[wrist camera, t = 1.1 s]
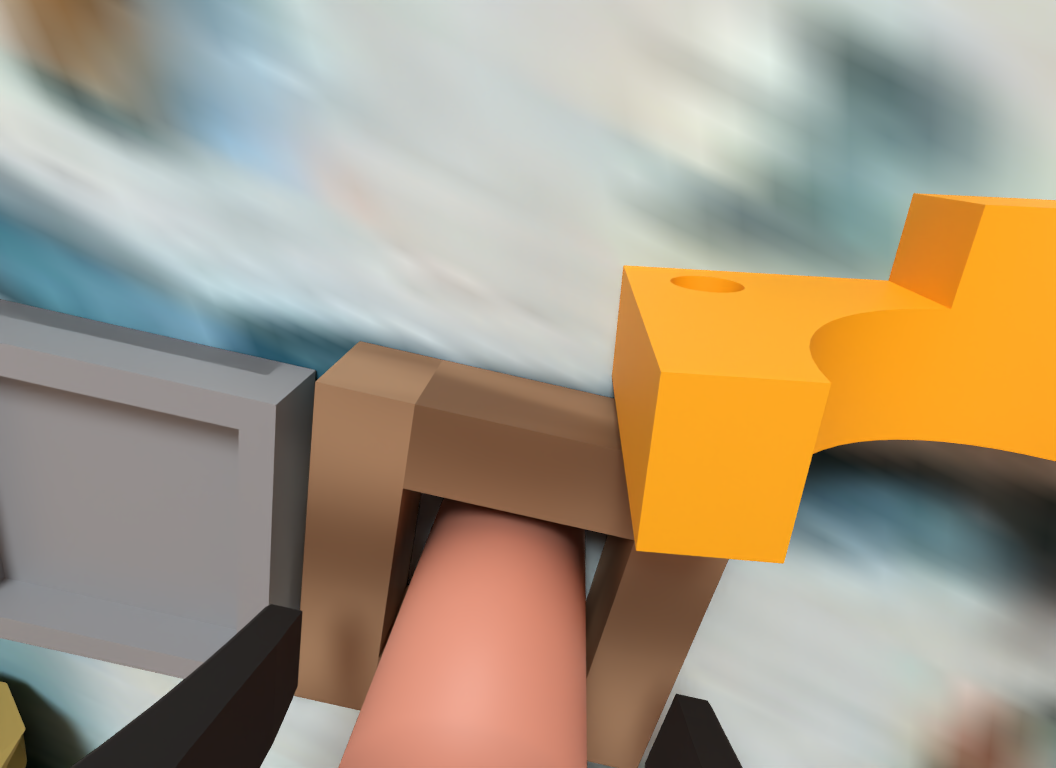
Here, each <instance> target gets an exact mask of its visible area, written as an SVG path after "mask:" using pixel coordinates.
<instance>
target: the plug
mask: <svg viewBox="0 0 1056 768" xmlns="http://www.w3.org/2000/svg"><path fill="white" fill-rule="evenodd" d="M338 768H587V710H586V590H585V529H582V528H577V527H573V526H568V525H564V524H559V523H555V522H551V521H546V520H542V519H537V518H533V517H528V516H524V515H519V514H515V513H511V512H506V511H502V510H497V509H493V508H488V507H484V506H479V505H475V504H470V503H466V502H462V501H457V500H453V499H448V498H444V500H443V501H442V503H441V505H440V508H439V510H438V513H437V515H436V518H435V520H434V523H433V525H432V528H431V531H430V533H429V536H428V538H427V541H426V543H425V546H424V549H423V551H422V554H421V556H420V559H419V561H418V564H417V567H416V569H415V572H414V574H413V577H412V579H411V582H410V585H409V587H408V590H407V592H406V595H405V598H404V600H403V603H402V605H401V608H400V610H399V613H398V616H397V618H396V621H395V623H394V626H393V628H392V631H391V634H390V636H389V639H388V641H387V644H386V646H385V649H384V652H383V654H382V657H381V659H380V662H379V664H378V667H377V670H376V672H375V675H374V677H373V680H372V682H371V685H370V688H369V690H368V693H367V695H366V698H365V700H364V703H363V706H362V708H361V711H360V713H359V716H358V718H357V721H356V724H355V726H354V729H353V731H352V734H351V737H350V739H349V742H348V744H347V747H346V749H345V752H344V755H343V757H342V760H341V762H340V765H339V767H338Z"/></svg>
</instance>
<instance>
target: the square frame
mask: <svg viewBox="0 0 1056 768" xmlns="http://www.w3.org/2000/svg"><path fill="white" fill-rule="evenodd" d="M421 493H426V494H430V495H435V496H439V497H444V498H448V499H453V500H457V501H462V502H466V503H470V504H475V505H479V506H484V507H488V508H493V509H497V510H502V511H506V512H511V513H515V514H519V515H524V516H528V517H533V518H537V519H542V520H546V521H551V522H555V523H559V524H564V525H568V526H573V527H577V528H582V529H586V530H591V531H595V532H600V533H604V534H608V535H607V539H606V542H605V545H604V548H603V551H602V554H601V557H600V560H599V563H598V566H597V569H596V572H595V575H594V579H593V582H592V585H591V588H590V591H589V594H588V597H587V600H586V710H587V761H589V762H594V763H598V764H603V765H607V766H612V767H616V768H638V765H639V763H640V761H641V758H642V756H643V754H644V752H645V749H646V747H647V745H648V742H649V740H650V738H651V736H652V733H653V731H654V729H655V726H656V724H657V722H658V720H659V717H660V715H661V713H662V710H663V708H664V706H665V704H666V701H667V699H668V697H669V694H670V692H671V690H672V688H673V685H674V683H675V681H676V678H677V676H678V674H679V672H680V669H681V667H682V665H683V662H684V660H685V658H686V656H687V653H688V651H689V649H690V646H691V644H692V642H693V640H694V637H695V635H696V633H697V630H698V628H699V626H700V624H701V621H702V619H703V617H704V614H705V612H706V610H707V608H708V605H709V603H710V601H711V598H712V596H713V594H714V592H715V589H716V587H717V585H718V582H719V580H720V578H721V576H722V573H723V571H724V569H725V567H726V564H727V562H728V560H729V559H726V558H714V557H702V556H691V555H679V554H667V553H656V552H644V551H636V548H635V541H634V533H633V526H632V519H631V511H630V504H629V497H628V490H627V482H626V475H625V468H624V460H623V453H622V446H621V439H620V431H619V424H618V417H617V410H616V402H615V399H614V398H609V397H605V396H601V395H596V394H592V393H587V392H583V391H578V390H574V389H570V388H565V387H561V386H556V385H552V384H547V383H543V382H539V381H534V380H530V379H525V378H521V377H516V376H512V375H508V374H503V373H499V372H494V371H490V370H485V369H481V368H476V367H472V366H468V365H463V364H459V363H454V362H450V361H445V360H441V359H437V358H432V357H428V356H423V355H419V354H414V353H410V352H406V351H401V350H397V349H392V348H388V347H383V346H379V345H375V344H370V343H366V342H361V341H359V342H358V343H357V344H356V345H355V346H354V347H353V348H352V349H351V350H350V351H348V352H347V353H346V354H345V355H344V356H343V357H342V358H341V359H340V360H339V361H338V362H336V363H335V364H334V365H333V366H332V367H331V368H330V369H329V370H328V371H327V372H326V373H324V374H323V375H322V376H321V377H320V378H319V379H318V380H317V381H316V382H315V394H314V409H313V425H312V440H311V455H310V470H309V485H308V500H307V515H306V530H305V545H304V560H303V575H302V590H301V605H300V610H301V611H303V614H302V629H301V644H300V659H299V674H298V687H297V689H296V691H295V696H297V697H302V698H306V699H311V700H315V701H320V702H324V703H329V704H333V705H338V706H342V707H347V708H351V709H356V710H360V711H361V708H362V706H363V703H364V700H365V698H366V695H367V693H368V690H369V688H370V685H371V682H372V680H373V677H374V675H375V672H376V670H377V667H378V664H379V662H380V659H381V657H382V654H383V652H384V649H385V646H386V644H387V641H388V639H389V636H390V634H391V631H392V628H393V626H394V623H395V621H396V618H397V616H398V613H399V610H400V608H401V605H402V603H403V600H404V598H405V595H406V592H407V590H408V587H409V586H407V580H408V573H409V567H410V561H411V555H412V548H413V542H414V536H415V530H416V523H417V517H418V511H419V505H420V498H421Z"/></svg>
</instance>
